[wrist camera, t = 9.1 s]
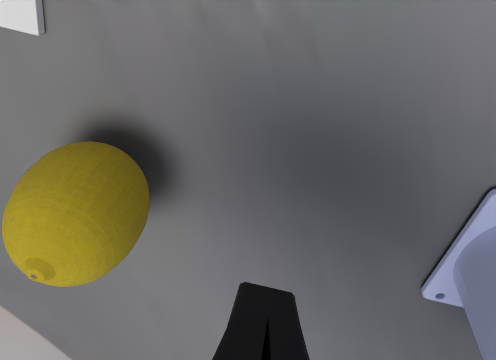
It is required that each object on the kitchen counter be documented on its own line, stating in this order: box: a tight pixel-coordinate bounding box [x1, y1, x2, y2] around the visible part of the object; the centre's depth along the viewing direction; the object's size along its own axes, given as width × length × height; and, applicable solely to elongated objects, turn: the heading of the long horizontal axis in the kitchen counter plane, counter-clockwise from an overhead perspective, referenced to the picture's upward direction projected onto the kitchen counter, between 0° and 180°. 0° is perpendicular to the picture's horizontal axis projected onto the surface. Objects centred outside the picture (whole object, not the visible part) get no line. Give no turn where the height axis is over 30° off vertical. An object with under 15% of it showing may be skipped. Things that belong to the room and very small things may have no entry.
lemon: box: [2, 141, 150, 287], centre depth 18 cm, size 6×6×8 cm
